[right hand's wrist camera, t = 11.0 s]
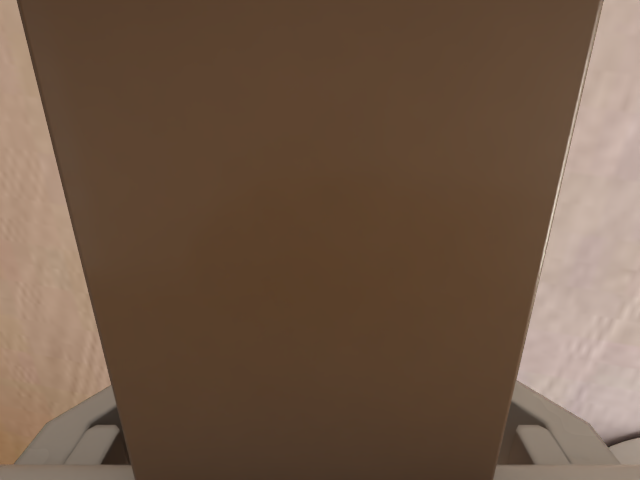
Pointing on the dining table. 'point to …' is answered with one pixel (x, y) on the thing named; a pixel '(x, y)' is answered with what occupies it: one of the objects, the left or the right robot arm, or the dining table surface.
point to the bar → (311, 220)
